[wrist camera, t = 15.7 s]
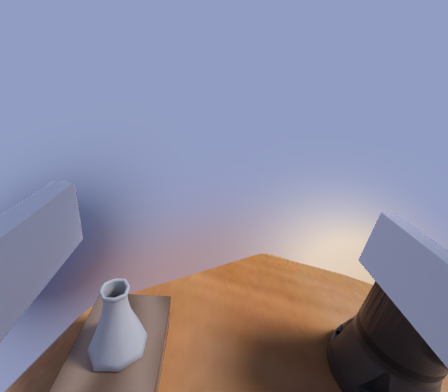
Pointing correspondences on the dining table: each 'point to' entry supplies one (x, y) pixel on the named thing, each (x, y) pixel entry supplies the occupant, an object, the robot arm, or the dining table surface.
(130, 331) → the flask
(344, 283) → the dining table surface
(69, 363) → the walnut block
